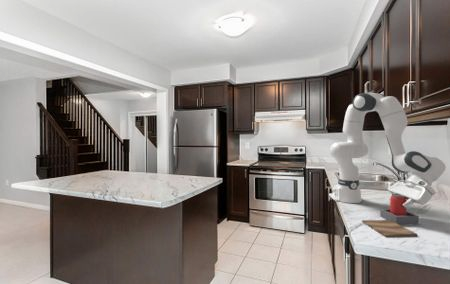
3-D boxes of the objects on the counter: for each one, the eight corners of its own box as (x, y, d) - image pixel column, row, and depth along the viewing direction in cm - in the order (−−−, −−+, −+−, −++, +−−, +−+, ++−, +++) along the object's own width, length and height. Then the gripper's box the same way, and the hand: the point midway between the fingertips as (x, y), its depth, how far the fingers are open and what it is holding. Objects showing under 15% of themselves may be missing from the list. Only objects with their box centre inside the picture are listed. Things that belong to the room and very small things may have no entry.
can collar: (380, 216, 121) (380, 209, 121) (400, 216, 121) (400, 208, 121) (396, 224, 110) (396, 216, 110) (418, 224, 110) (418, 216, 110)
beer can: (399, 221, 112) (400, 197, 111) (386, 216, 118) (387, 194, 117) (409, 219, 114) (410, 196, 113) (396, 215, 120) (396, 192, 119)
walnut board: (362, 222, 113) (362, 220, 113) (389, 221, 113) (389, 220, 113) (385, 236, 97) (385, 234, 97) (417, 236, 97) (417, 234, 97)
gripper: (396, 176, 125) (378, 193, 126) (430, 184, 105) (409, 205, 105) (404, 184, 126) (386, 201, 126) (439, 194, 105) (418, 215, 105)
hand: (397, 203), depth 115 cm, fingers closed on beer can, 7 cm apart
